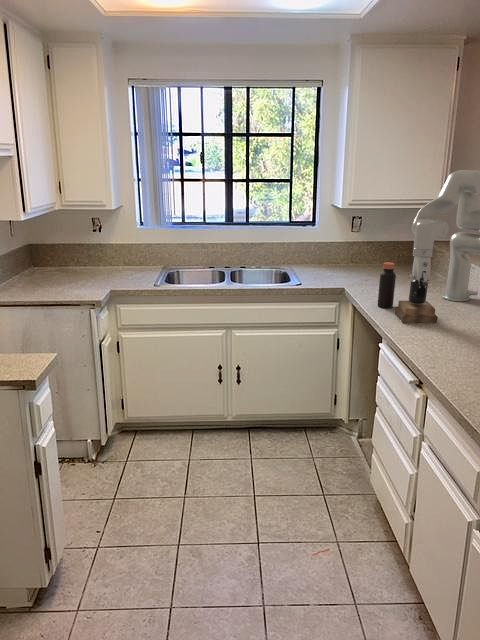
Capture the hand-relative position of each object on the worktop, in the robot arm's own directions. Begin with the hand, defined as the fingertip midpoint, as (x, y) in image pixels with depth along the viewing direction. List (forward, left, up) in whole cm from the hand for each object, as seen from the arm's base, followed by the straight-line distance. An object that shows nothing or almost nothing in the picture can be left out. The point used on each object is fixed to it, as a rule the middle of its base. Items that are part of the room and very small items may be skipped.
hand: (418, 294), depth 217 cm
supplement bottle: (0, 0, -3) cm, 3 cm away
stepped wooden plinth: (0, 0, -11) cm, 11 cm away
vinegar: (+9, -17, -11) cm, 22 cm away
